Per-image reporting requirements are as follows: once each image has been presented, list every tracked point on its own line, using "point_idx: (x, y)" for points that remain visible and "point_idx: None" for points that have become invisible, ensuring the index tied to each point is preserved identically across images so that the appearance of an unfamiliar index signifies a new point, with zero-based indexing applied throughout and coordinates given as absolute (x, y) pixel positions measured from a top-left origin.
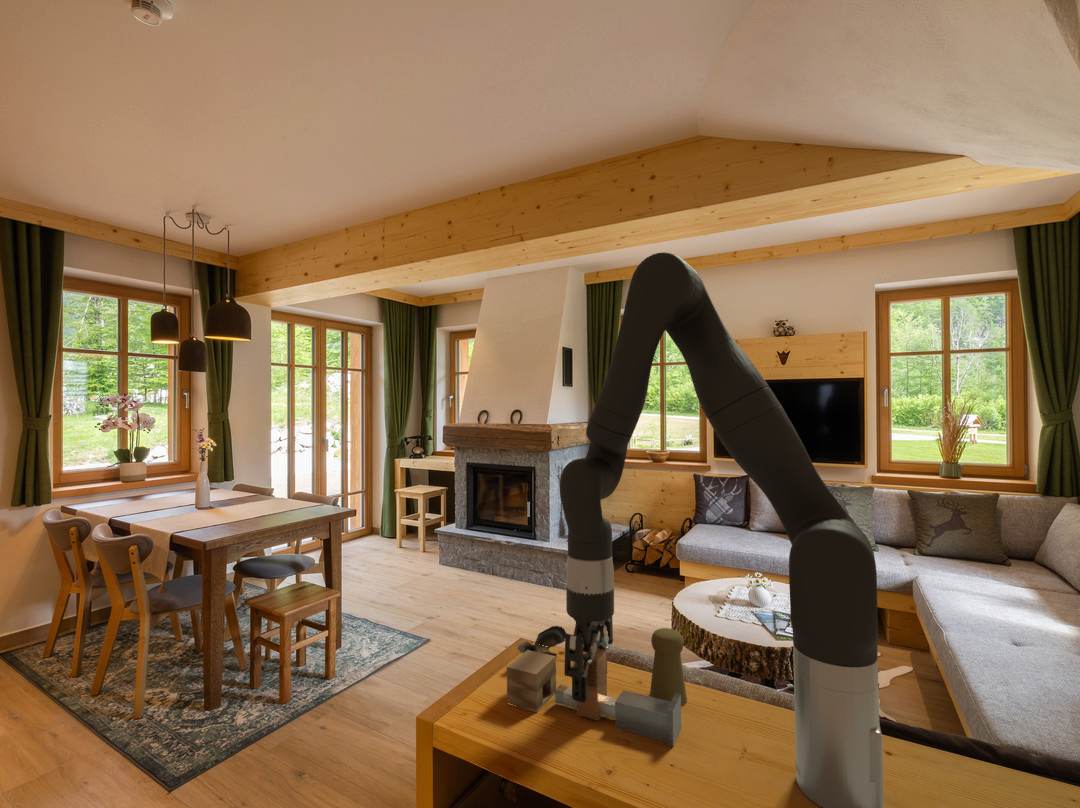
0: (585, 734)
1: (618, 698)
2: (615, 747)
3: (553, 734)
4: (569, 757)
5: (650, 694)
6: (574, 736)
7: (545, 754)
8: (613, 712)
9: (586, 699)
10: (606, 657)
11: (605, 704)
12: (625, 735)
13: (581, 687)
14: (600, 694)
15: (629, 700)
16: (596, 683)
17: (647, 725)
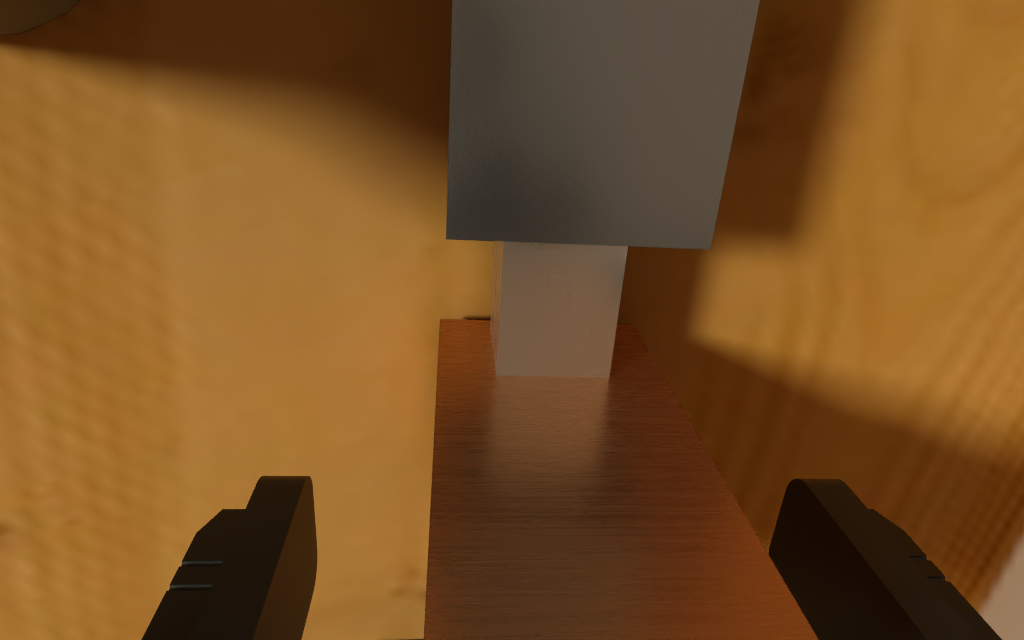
0: (763, 346)
1: (637, 236)
2: (864, 120)
3: None
4: (1001, 350)
5: (20, 18)
6: (799, 394)
7: (987, 463)
8: None
9: (821, 481)
10: (220, 633)
11: (615, 328)
12: None
13: (958, 602)
14: (613, 409)
15: (641, 112)
16: (732, 508)
17: None
